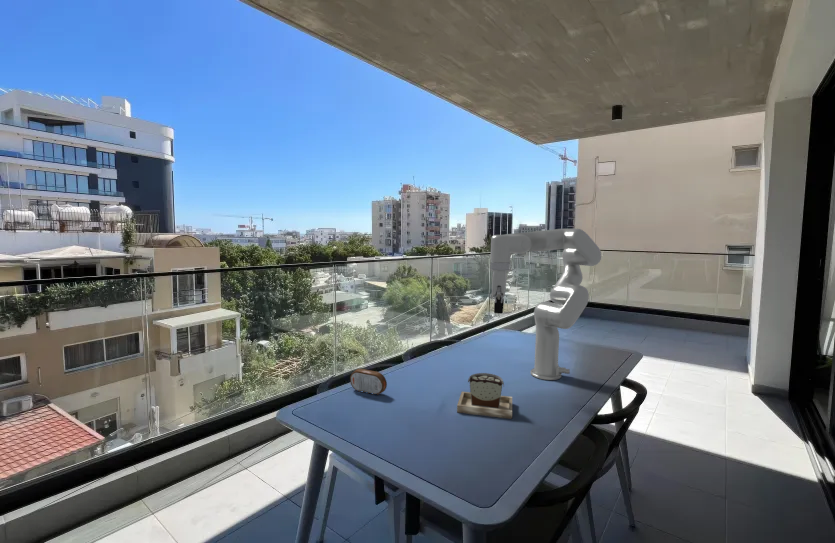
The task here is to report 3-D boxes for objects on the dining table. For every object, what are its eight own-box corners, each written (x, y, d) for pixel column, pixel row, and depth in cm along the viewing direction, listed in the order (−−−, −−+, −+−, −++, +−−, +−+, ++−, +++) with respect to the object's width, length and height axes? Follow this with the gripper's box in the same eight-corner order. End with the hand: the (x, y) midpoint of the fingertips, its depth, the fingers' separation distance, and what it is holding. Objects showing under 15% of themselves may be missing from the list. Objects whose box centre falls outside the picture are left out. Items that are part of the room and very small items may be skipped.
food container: (504, 402, 137) (505, 374, 136) (503, 409, 132) (504, 380, 131) (469, 397, 141) (470, 370, 140) (467, 404, 135) (467, 376, 134)
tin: (387, 394, 145) (387, 372, 144) (383, 397, 142) (383, 375, 141) (353, 387, 151) (353, 366, 151) (348, 390, 149) (348, 369, 148)
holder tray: (512, 403, 138) (512, 396, 138) (512, 418, 127) (512, 411, 126) (461, 398, 142) (461, 391, 142) (457, 412, 131) (457, 405, 131)
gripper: (491, 265, 159) (490, 306, 161) (489, 268, 142) (487, 314, 144) (510, 265, 157) (508, 307, 159) (510, 269, 140) (508, 315, 142)
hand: (498, 310), depth 151 cm, fingers open, 9 cm apart
